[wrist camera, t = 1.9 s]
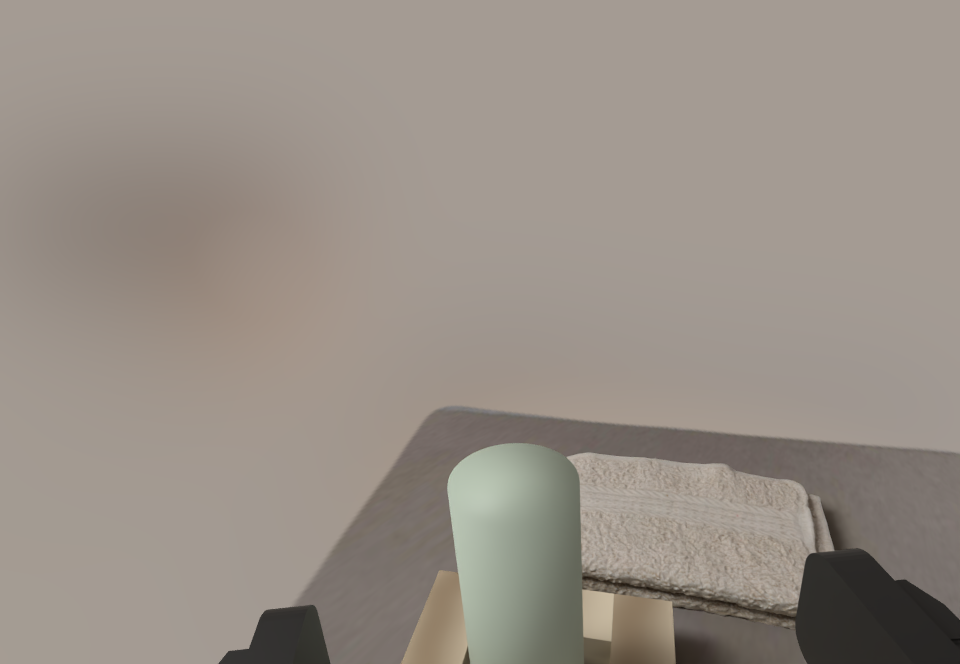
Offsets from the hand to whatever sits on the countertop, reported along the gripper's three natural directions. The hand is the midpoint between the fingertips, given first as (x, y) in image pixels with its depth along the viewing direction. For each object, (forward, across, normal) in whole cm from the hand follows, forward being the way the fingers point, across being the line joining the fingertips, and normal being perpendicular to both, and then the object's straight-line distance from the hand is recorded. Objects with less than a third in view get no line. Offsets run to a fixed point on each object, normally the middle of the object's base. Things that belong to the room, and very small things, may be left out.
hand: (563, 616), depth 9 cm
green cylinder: (+11, 0, +20) cm, 23 cm away
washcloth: (+23, -12, +21) cm, 33 cm away
